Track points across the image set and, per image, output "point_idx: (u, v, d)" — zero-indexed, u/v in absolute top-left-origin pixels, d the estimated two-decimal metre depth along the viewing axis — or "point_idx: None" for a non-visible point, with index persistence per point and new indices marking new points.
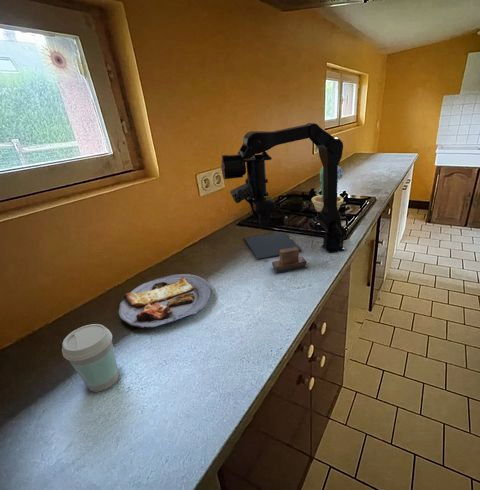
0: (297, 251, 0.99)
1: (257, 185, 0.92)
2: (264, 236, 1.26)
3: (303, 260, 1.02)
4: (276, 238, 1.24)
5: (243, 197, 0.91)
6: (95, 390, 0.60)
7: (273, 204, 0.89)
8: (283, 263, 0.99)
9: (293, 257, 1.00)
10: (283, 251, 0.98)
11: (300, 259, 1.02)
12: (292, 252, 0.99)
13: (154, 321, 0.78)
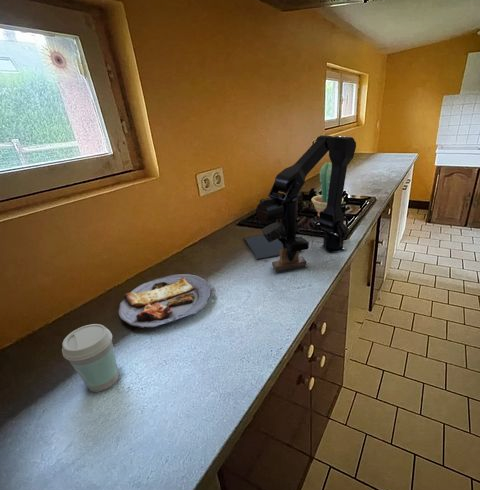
0: (297, 251, 0.99)
1: (290, 225, 0.92)
2: None
3: (303, 260, 1.02)
4: None
5: (276, 237, 0.91)
6: (95, 390, 0.60)
7: (306, 245, 0.89)
8: (283, 263, 0.99)
9: None
10: (283, 251, 0.98)
11: (300, 259, 1.02)
12: None
13: (154, 321, 0.78)
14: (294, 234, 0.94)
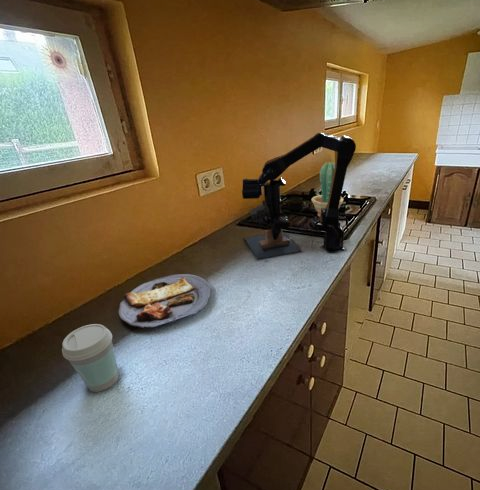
0: (281, 231, 1.12)
1: (273, 207, 1.05)
2: (264, 236, 1.26)
3: (286, 239, 1.15)
4: None
5: (261, 217, 1.04)
6: (95, 390, 0.60)
7: (288, 223, 1.03)
8: (268, 242, 1.12)
9: None
10: (268, 231, 1.11)
11: (284, 238, 1.15)
12: None
13: (154, 321, 0.78)
14: (277, 215, 1.07)
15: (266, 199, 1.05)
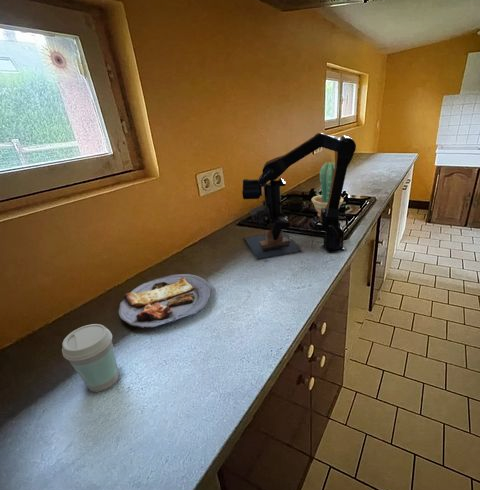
0: (281, 231, 1.12)
1: (273, 207, 1.05)
2: (264, 236, 1.26)
3: (287, 240, 1.14)
4: None
5: (261, 217, 1.04)
6: (95, 390, 0.60)
7: (287, 224, 1.02)
8: (269, 242, 1.12)
9: None
10: (268, 231, 1.11)
11: (284, 239, 1.15)
12: None
13: (154, 321, 0.78)
14: (278, 215, 1.07)
15: (266, 199, 1.05)
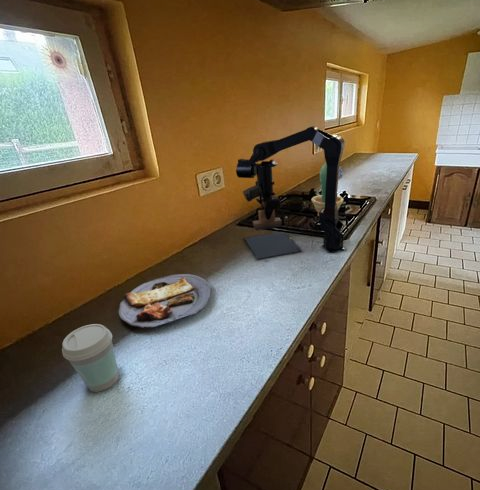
0: (273, 211, 1.17)
1: (266, 187, 1.10)
2: (264, 236, 1.26)
3: (279, 219, 1.19)
4: (276, 238, 1.24)
5: (254, 196, 1.09)
6: (95, 390, 0.60)
7: (279, 202, 1.07)
8: (261, 221, 1.17)
9: None
10: (261, 211, 1.16)
11: (276, 219, 1.20)
12: None
13: (154, 321, 0.78)
14: (270, 195, 1.12)
15: (258, 179, 1.10)
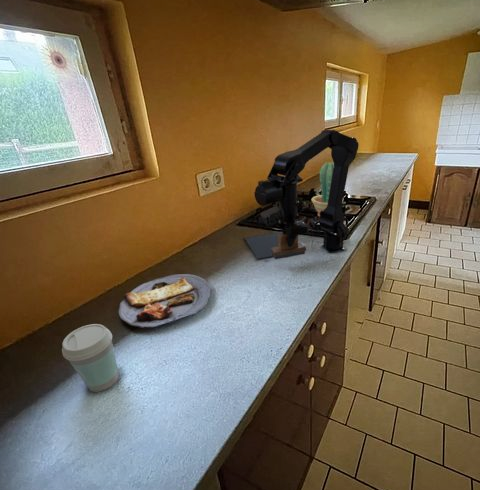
0: None
1: (289, 209, 0.90)
2: (264, 236, 1.26)
3: (302, 246, 0.99)
4: (276, 238, 1.24)
5: (275, 221, 0.89)
6: (95, 390, 0.60)
7: (306, 228, 0.87)
8: (282, 249, 0.97)
9: None
10: (282, 236, 0.96)
11: (299, 245, 1.00)
12: None
13: (154, 321, 0.78)
14: (294, 218, 0.92)
15: (281, 200, 0.90)
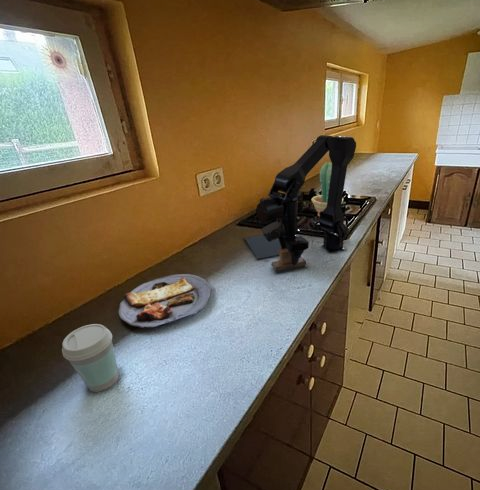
0: None
1: (290, 224, 0.92)
2: (264, 236, 1.26)
3: (303, 260, 1.02)
4: None
5: (276, 237, 0.91)
6: (95, 390, 0.60)
7: (306, 244, 0.89)
8: (283, 263, 0.99)
9: None
10: (283, 251, 0.98)
11: (300, 259, 1.02)
12: None
13: (154, 321, 0.78)
14: (294, 234, 0.94)
15: (281, 216, 0.92)
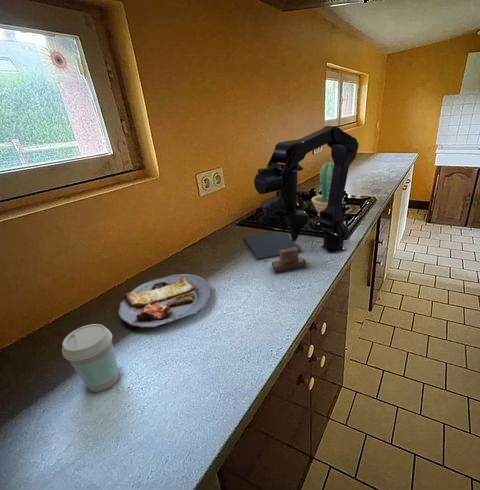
0: (297, 251, 0.99)
1: (289, 198, 0.88)
2: (264, 236, 1.26)
3: (303, 260, 1.02)
4: (276, 238, 1.24)
5: (275, 210, 0.87)
6: (95, 390, 0.60)
7: (307, 218, 0.86)
8: (283, 263, 0.99)
9: (293, 257, 1.00)
10: (283, 251, 0.98)
11: (300, 259, 1.02)
12: (292, 252, 0.99)
13: (154, 321, 0.78)
14: (294, 208, 0.90)
15: (281, 189, 0.88)
